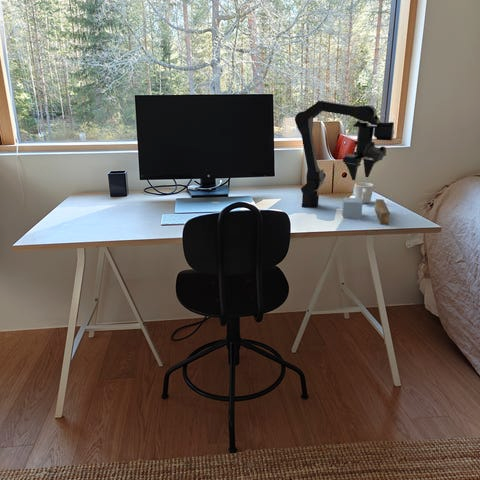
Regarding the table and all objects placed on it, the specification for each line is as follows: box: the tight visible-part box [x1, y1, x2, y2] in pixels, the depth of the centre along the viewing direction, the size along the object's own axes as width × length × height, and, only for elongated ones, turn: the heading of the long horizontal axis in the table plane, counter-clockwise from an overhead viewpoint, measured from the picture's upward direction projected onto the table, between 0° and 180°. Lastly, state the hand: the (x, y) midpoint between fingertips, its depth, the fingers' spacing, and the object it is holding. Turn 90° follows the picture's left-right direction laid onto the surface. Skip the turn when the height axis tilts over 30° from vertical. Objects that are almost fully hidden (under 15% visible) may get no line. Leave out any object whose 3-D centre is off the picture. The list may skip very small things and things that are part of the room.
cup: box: [354, 181, 375, 204], centre depth 187 cm, size 11×8×8 cm
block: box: [341, 197, 363, 220], centre depth 169 cm, size 7×7×6 cm
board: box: [374, 198, 391, 226], centre depth 167 cm, size 3×20×4 cm, turn 169°
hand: (360, 178), depth 172 cm, fingers open, 9 cm apart
